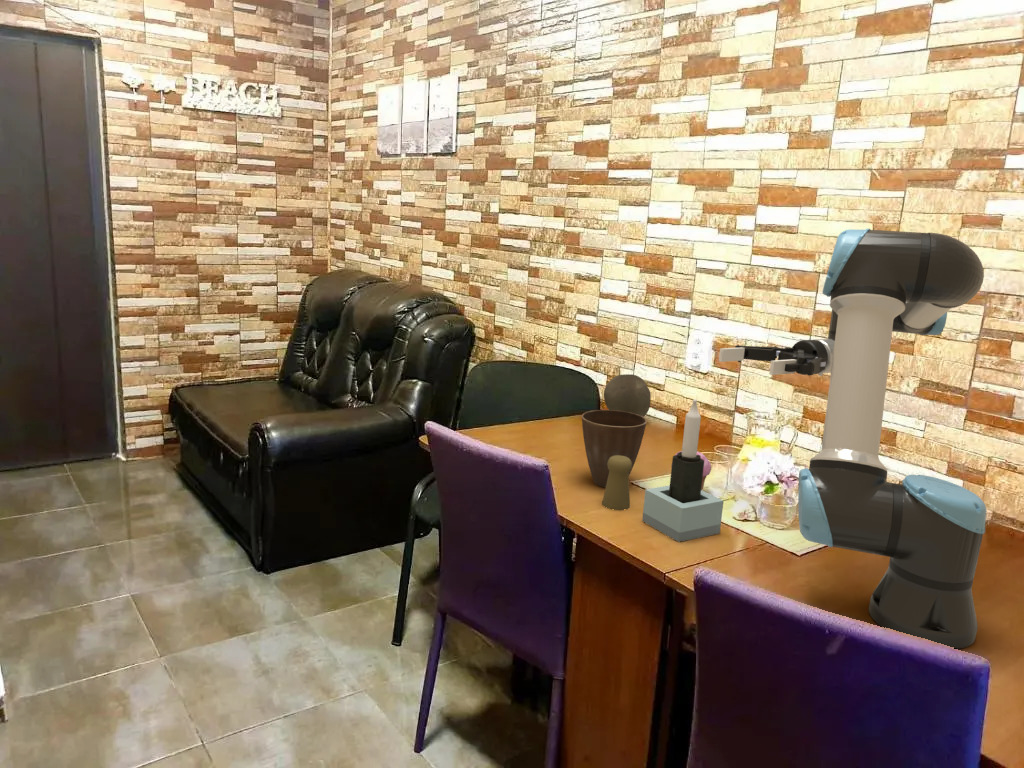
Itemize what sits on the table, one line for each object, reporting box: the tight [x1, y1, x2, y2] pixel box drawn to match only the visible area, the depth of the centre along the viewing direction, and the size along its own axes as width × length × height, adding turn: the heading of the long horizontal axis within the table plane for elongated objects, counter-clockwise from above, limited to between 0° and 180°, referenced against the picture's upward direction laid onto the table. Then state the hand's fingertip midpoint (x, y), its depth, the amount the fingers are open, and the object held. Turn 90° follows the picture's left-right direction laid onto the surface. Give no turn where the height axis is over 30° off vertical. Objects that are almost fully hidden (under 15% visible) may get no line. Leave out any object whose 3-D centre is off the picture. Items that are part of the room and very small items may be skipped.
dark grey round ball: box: [603, 373, 652, 418], centre depth 230 cm, size 14×14×15 cm
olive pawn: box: [601, 455, 633, 511], centre depth 161 cm, size 6×6×11 cm
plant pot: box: [581, 409, 648, 489], centre depth 174 cm, size 15×15×16 cm
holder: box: [641, 484, 725, 543], centre depth 151 cm, size 11×11×7 cm
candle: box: [669, 398, 704, 503], centre depth 149 cm, size 5×5×25 cm
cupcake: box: [671, 450, 712, 491], centre depth 172 cm, size 9×9×10 cm
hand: (745, 361), depth 151 cm, fingers open, 13 cm apart
